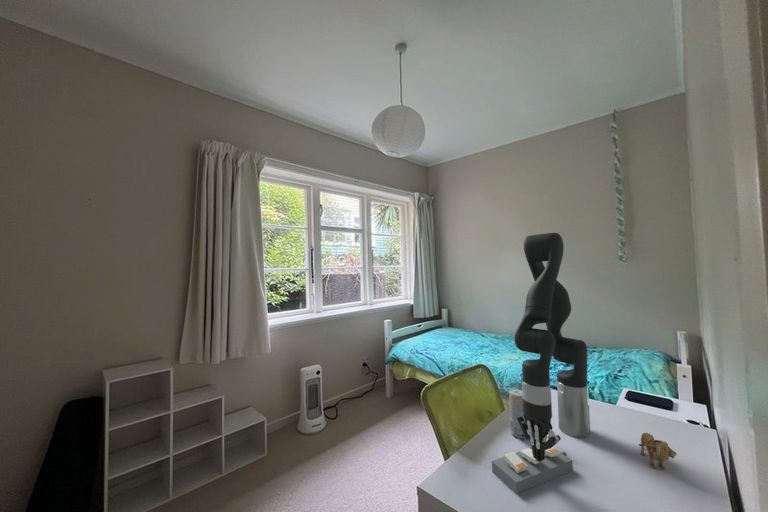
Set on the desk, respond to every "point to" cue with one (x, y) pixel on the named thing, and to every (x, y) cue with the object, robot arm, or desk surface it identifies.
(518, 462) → the block
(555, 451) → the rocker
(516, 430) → the beverage can
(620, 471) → the desk surface
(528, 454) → the rocker middle
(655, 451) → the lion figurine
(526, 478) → the rocker switch panel
